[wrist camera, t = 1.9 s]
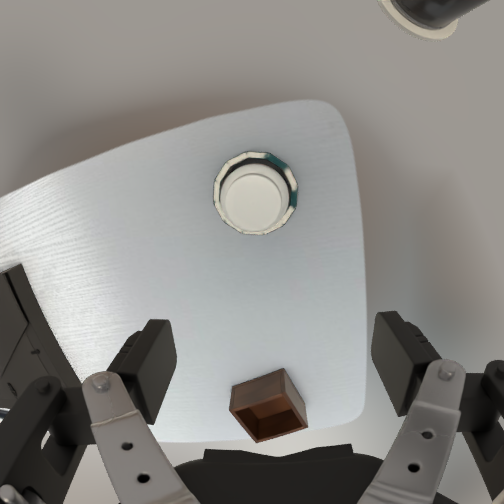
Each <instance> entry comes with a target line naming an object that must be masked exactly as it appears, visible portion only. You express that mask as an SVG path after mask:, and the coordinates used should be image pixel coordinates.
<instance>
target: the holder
mask: <svg viewBox="0 0 504 504" xmlns="http://www.w3.org/2000/svg"><path fill="white" fill-rule="evenodd" d="M229 411H230V412H231V413H232V415H233V416H234V417H235V418H236V420H237V421H238V422H239V423H240V425H241V426H242V427H243V428H244V429H245V431H246V432H247V433H248V434H249V435H250V437H251V438H252V439H253V440H254V441H255V442H256V443H259V442H263V441H266V440H270V439H273V438H277V437H280V436H283V435H286V434H290V433H293V432H296V431H299V430H302V429H304V428H308V422H307V415H306V408H305V403H304V401H303V400H302V398H301V396H300V395H299V393H298V391H297V390H296V388H295V386H294V385H293V383H292V381H291V380H290V378H289V376H288V375H287V373H286V371H285V370H284V368H283V369H280V370H278V371H275V372H272V373H270V374H267V375H264V376H261V377H259V378H256V379H253V380H250V381H247V382H244V383H242V384H239V385H236V386H233V387H232V391H231V399H230V406H229Z"/></svg>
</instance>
